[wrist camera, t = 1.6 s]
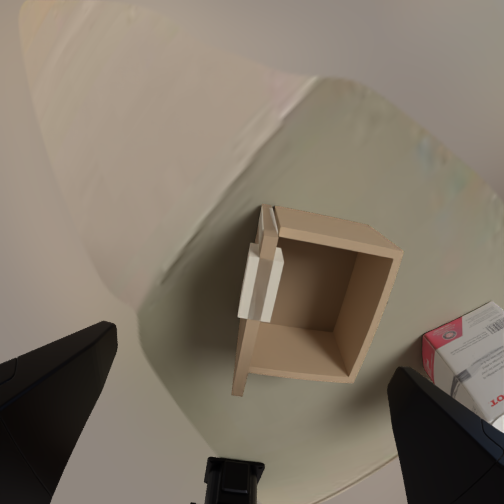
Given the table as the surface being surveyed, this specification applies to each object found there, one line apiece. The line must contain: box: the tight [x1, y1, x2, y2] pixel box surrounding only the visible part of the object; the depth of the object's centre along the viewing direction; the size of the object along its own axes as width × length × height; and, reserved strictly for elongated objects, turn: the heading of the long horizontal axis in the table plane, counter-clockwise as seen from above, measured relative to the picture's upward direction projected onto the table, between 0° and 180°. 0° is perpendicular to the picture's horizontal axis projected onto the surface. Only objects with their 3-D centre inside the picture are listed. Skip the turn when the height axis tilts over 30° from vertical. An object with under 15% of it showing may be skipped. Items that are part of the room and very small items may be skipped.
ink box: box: [422, 301, 504, 433], centre depth 18 cm, size 9×5×12 cm, turn 109°
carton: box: [248, 206, 404, 383], centre depth 19 cm, size 9×7×6 cm
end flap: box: [232, 204, 284, 397], centre depth 18 cm, size 9×2×8 cm, turn 169°
